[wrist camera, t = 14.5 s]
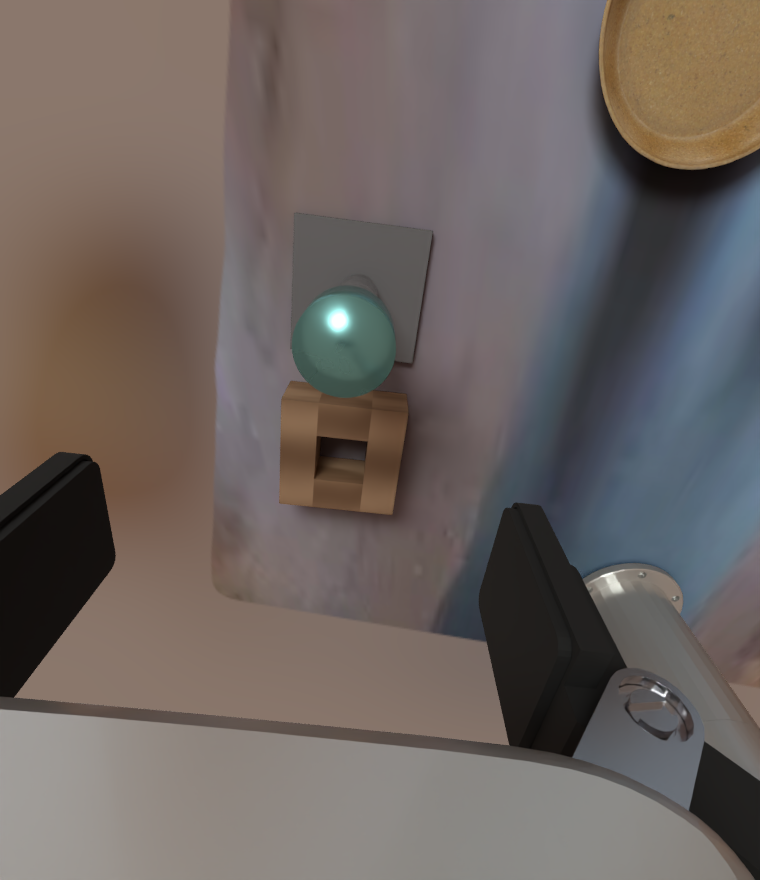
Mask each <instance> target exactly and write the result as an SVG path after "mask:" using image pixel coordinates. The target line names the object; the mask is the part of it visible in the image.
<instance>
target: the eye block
mask: <svg viewBox="0 0 760 880" xmlns="http://www.w3.org/2000/svg"><path fill="white" fill-rule="evenodd" d="M408 414H409V413H408V403H407V394H401V393H393V392H384V391H375V390H372V391H371V392H369V393H367V394H364V395H361V396H357V397H352V398H340V397H334V396H330V395H327V394H325V393H323V392H320V391H319V390H317V389H315V388H314V387H313V386H311V385H310V384H309V383H305V382H297V381H290V383H289V385H288V387H287V389H286V391H285V393H284V395H283V397H282V399H281V447H280V496H279V503H280V504H290V505H300V506H309V507H319V508H329V509H339V510H349V511H358V512H368V513H378V514H388V515H392V512H393V506H394V500H395V494H396V488H397V482H398V475H399V469H400V463H401V457H402V451H403V445H404V438H405V432H406V426H407V420H408ZM321 436H322V437H332V438H341V439H350V440H359V441H367V447H366V455H365V461H362V460H353V459H344V458H334V457H325V456H320V447H321Z"/></svg>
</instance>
